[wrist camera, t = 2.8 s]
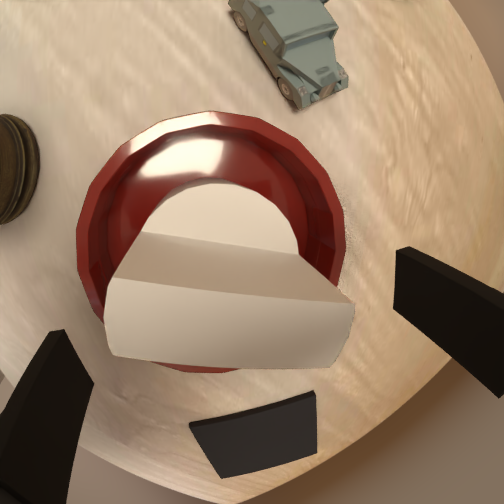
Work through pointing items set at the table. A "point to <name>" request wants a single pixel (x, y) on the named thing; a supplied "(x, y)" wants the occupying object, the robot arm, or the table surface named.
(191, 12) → the table surface
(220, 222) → the base with upright slab
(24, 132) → the container
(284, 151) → the red round dish
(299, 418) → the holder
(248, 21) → the toy car
